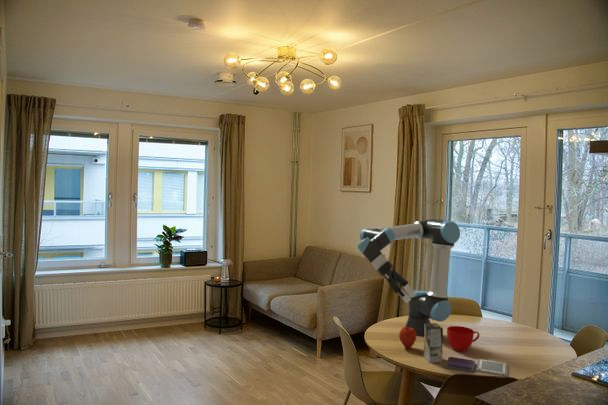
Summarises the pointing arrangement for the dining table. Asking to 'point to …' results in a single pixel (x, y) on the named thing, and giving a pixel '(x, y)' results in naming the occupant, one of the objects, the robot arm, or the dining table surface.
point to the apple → (407, 336)
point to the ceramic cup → (460, 337)
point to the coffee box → (433, 342)
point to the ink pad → (460, 364)
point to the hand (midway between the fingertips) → (411, 298)
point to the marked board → (492, 367)
